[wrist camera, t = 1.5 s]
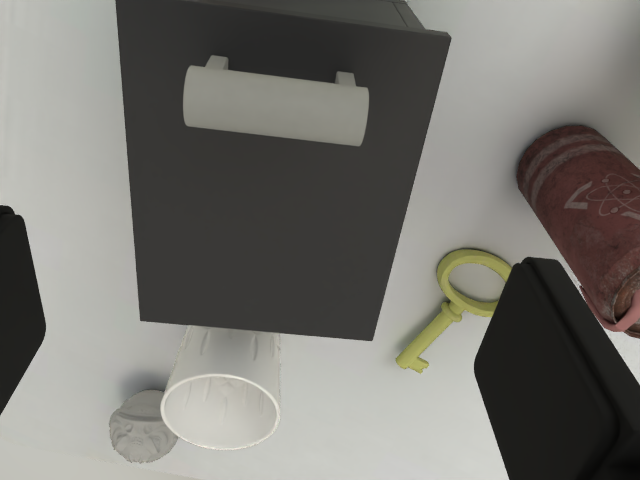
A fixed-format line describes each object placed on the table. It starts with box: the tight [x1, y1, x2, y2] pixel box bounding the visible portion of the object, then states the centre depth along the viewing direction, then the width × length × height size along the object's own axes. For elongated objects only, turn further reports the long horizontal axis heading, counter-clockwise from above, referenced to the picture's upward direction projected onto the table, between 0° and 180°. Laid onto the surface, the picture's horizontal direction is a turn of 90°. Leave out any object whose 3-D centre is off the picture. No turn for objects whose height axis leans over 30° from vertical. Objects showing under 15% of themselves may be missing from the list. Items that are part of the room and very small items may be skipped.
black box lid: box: [116, 0, 451, 341], centre depth 23 cm, size 17×13×6 cm
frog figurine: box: [109, 390, 178, 463], centre depth 47 cm, size 6×7×7 cm
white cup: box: [160, 325, 281, 450], centre depth 40 cm, size 8×8×10 cm
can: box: [516, 126, 640, 339], centre depth 31 cm, size 6×6×14 cm
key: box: [396, 249, 512, 374], centre depth 43 cm, size 7×12×2 cm, turn 163°
